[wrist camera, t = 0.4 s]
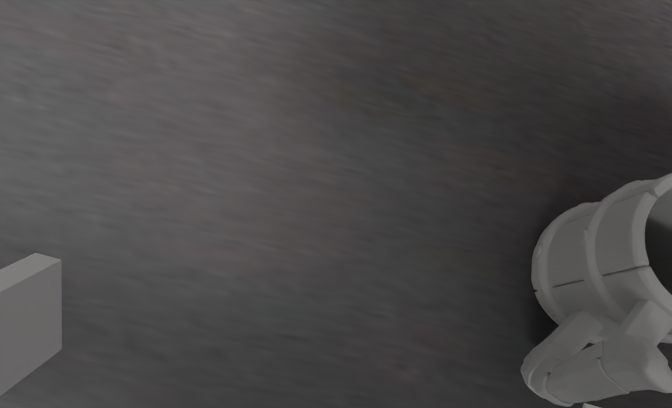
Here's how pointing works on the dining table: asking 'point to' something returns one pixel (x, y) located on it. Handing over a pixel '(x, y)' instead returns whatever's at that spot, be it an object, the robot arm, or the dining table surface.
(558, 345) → the mug
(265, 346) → the dining table surface
